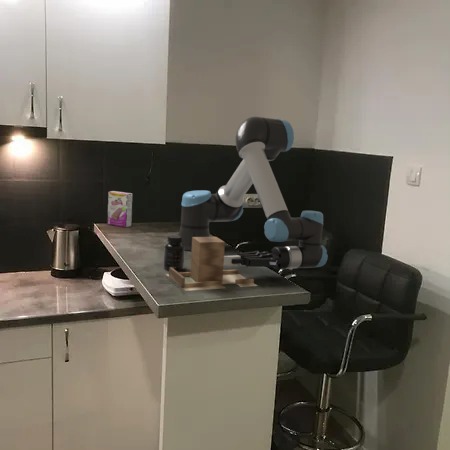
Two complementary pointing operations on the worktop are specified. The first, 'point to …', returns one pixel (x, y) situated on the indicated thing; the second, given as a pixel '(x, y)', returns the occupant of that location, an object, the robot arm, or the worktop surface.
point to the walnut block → (207, 259)
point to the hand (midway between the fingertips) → (221, 260)
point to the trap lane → (189, 284)
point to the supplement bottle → (174, 253)
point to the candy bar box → (119, 209)
